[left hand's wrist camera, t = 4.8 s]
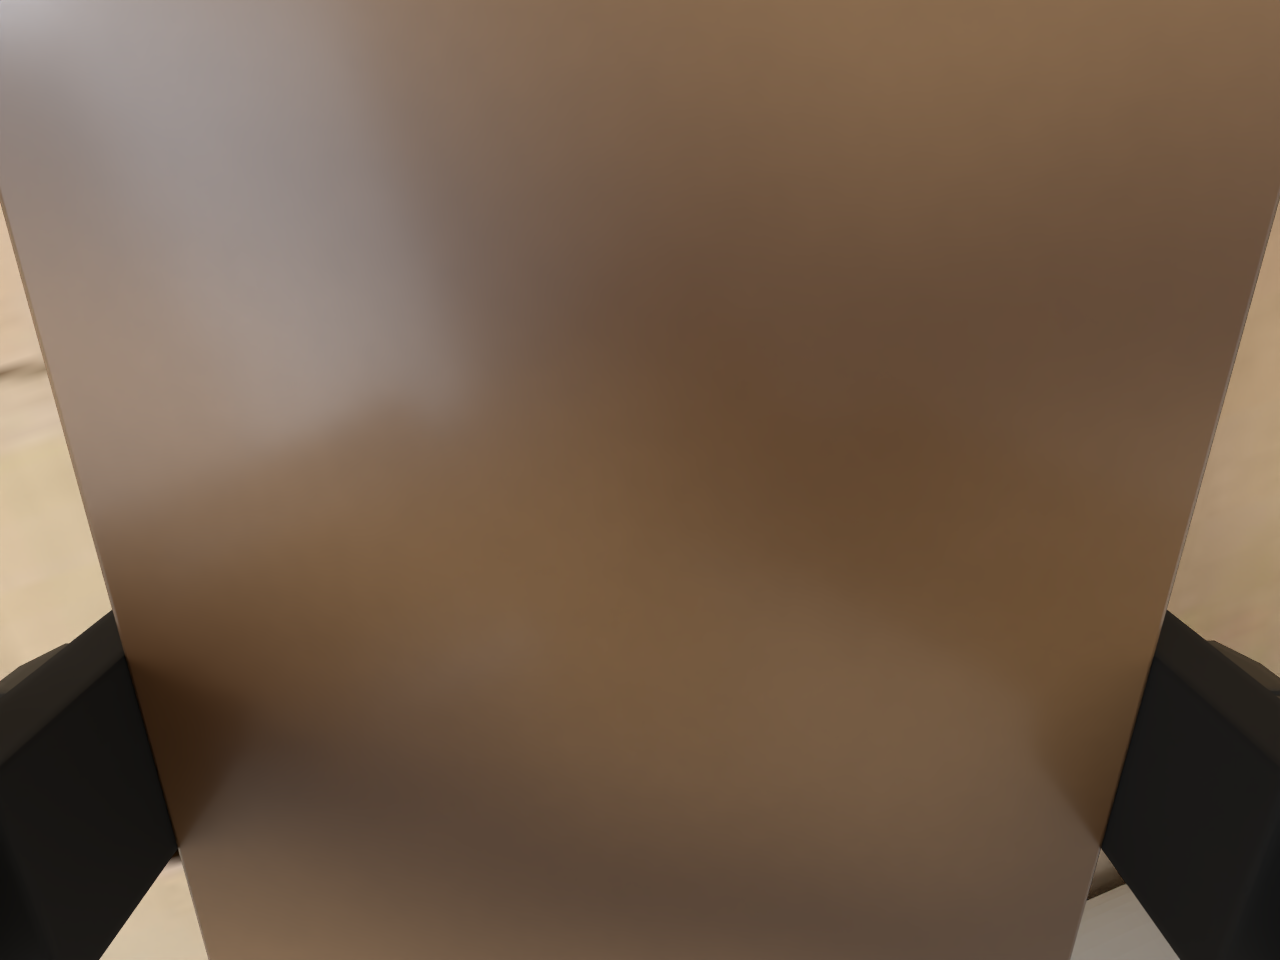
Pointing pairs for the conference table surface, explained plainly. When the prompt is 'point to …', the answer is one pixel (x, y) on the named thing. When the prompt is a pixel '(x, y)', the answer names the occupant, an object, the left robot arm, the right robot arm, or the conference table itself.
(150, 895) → the conference table surface
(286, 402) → the cabinet
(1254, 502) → the conference table surface
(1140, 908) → the projector
